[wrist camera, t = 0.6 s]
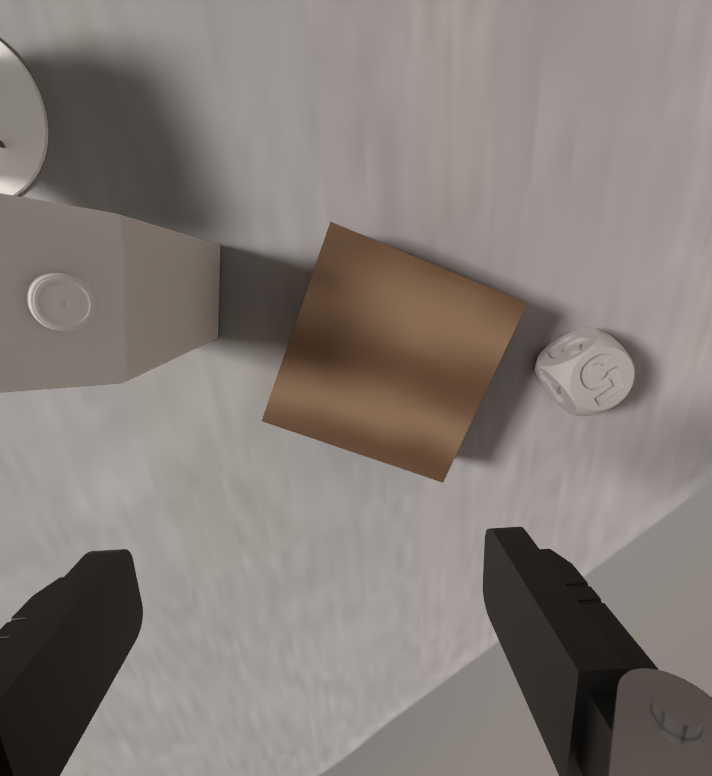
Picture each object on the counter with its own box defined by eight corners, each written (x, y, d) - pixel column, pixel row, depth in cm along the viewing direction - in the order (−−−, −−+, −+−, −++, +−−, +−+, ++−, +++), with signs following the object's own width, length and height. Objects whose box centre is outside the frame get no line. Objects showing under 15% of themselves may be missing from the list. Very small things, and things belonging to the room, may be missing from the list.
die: (554, 405, 36) (588, 425, 31) (525, 360, 35) (555, 373, 30) (605, 371, 35) (647, 385, 30) (576, 323, 34) (616, 330, 29)
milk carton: (127, 328, 33) (-146, 391, 14) (124, 233, 31) (-190, 164, 12) (218, 338, 33) (70, 410, 15) (221, 244, 31) (56, 194, 13)
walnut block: (331, 232, 32) (330, 221, 26) (494, 299, 34) (527, 303, 28) (274, 397, 35) (261, 421, 29) (426, 450, 37) (443, 482, 31)
